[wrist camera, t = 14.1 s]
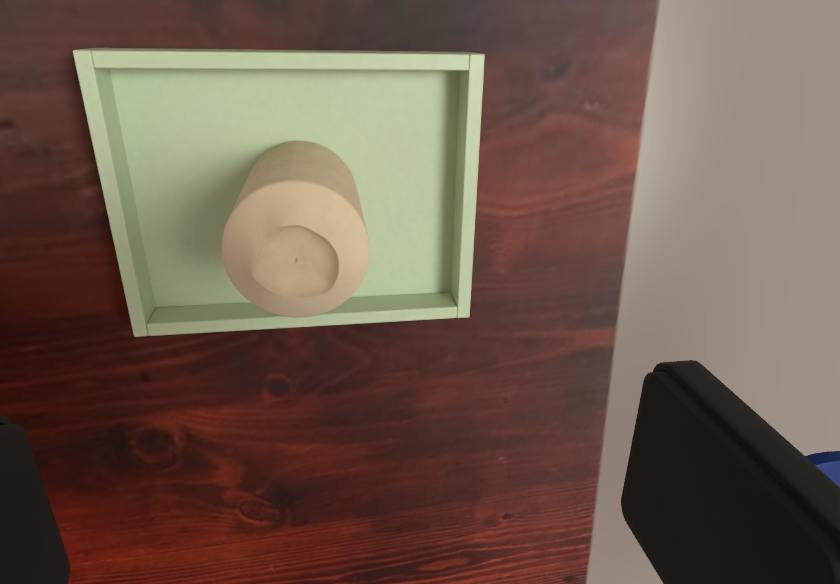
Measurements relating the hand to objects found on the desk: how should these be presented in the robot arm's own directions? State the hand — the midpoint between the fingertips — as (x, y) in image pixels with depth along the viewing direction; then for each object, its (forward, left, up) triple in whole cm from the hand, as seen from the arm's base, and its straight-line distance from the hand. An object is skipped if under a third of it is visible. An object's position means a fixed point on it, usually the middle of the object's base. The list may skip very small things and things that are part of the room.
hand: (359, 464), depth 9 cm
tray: (+2, +2, -23) cm, 23 cm away
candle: (+2, +2, -23) cm, 23 cm away
